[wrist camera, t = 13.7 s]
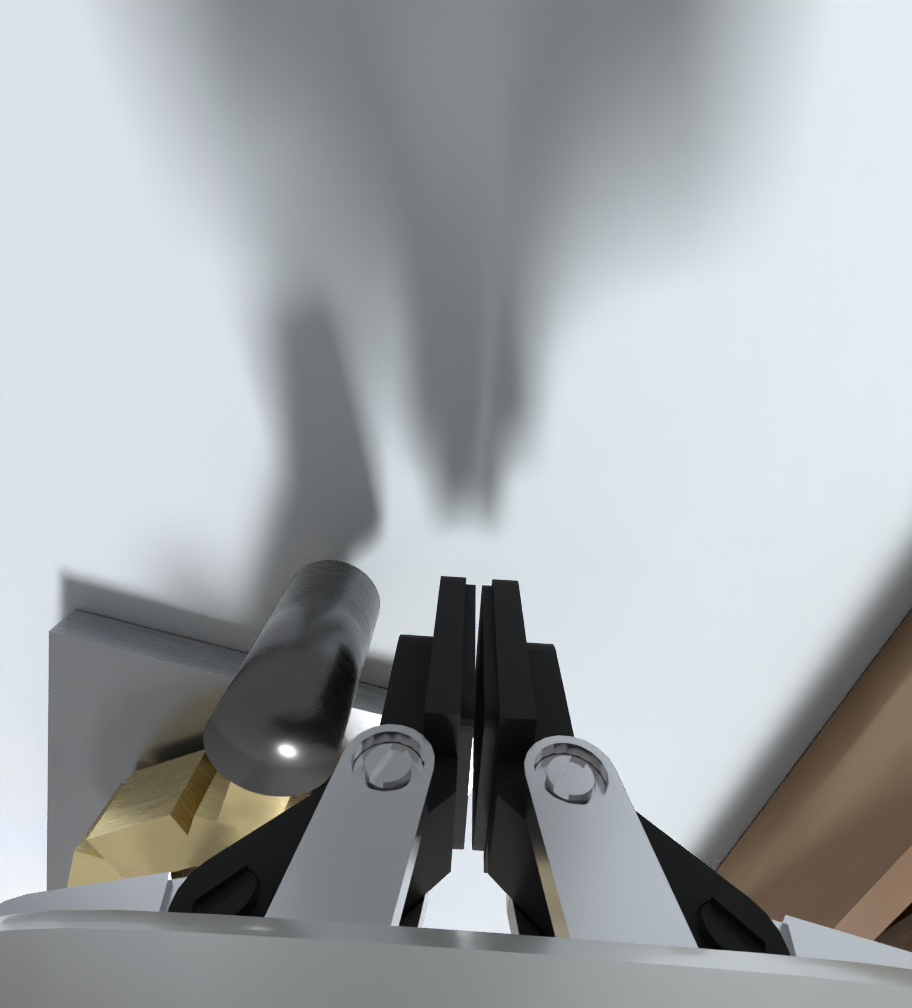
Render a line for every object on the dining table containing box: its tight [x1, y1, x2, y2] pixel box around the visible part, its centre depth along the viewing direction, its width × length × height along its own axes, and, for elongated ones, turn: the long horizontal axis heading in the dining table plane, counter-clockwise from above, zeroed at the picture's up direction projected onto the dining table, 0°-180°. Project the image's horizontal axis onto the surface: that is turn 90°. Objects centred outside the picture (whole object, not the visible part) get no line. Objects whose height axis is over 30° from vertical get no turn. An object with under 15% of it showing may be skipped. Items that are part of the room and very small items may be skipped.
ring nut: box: [67, 560, 380, 888], centre depth 13 cm, size 14×8×4 cm, turn 158°
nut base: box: [47, 610, 473, 891], centre depth 15 cm, size 12×12×6 cm
